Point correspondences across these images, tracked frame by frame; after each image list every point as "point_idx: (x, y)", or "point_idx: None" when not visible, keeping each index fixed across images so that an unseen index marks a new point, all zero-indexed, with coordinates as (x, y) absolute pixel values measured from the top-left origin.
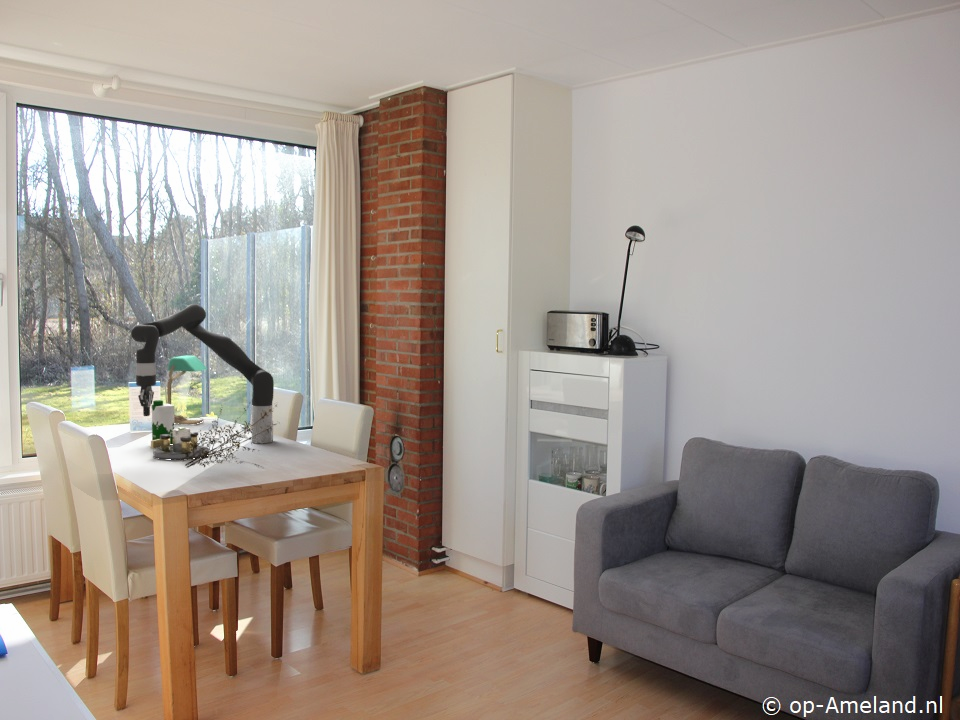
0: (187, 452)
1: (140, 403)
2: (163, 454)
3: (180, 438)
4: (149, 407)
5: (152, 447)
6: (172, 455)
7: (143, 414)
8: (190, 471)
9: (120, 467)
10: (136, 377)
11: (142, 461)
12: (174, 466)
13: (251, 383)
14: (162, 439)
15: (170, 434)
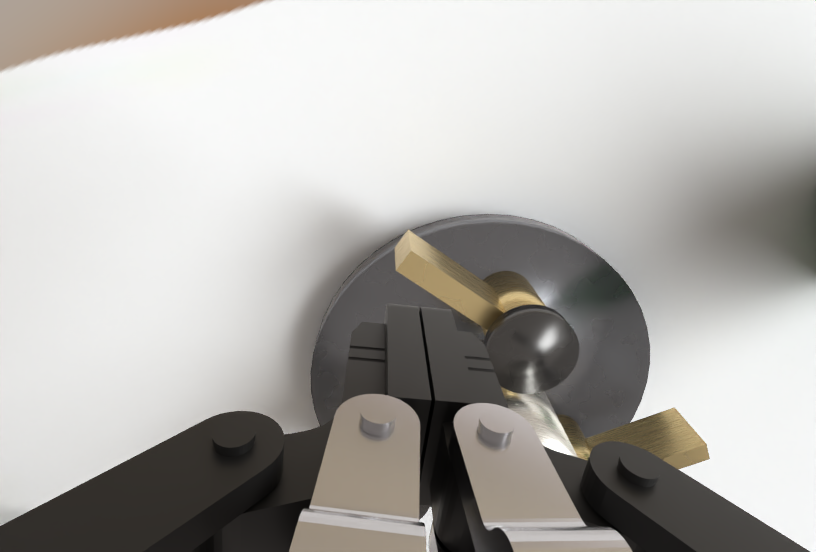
0: None
1: (100, 478)
2: (351, 306)
3: None
4: (421, 494)
5: (399, 244)
6: (314, 361)
7: (389, 311)
8: (23, 464)
9: (69, 51)
10: None
11: (290, 172)
12: (142, 378)
13: None
14: (479, 324)
15: (551, 386)
